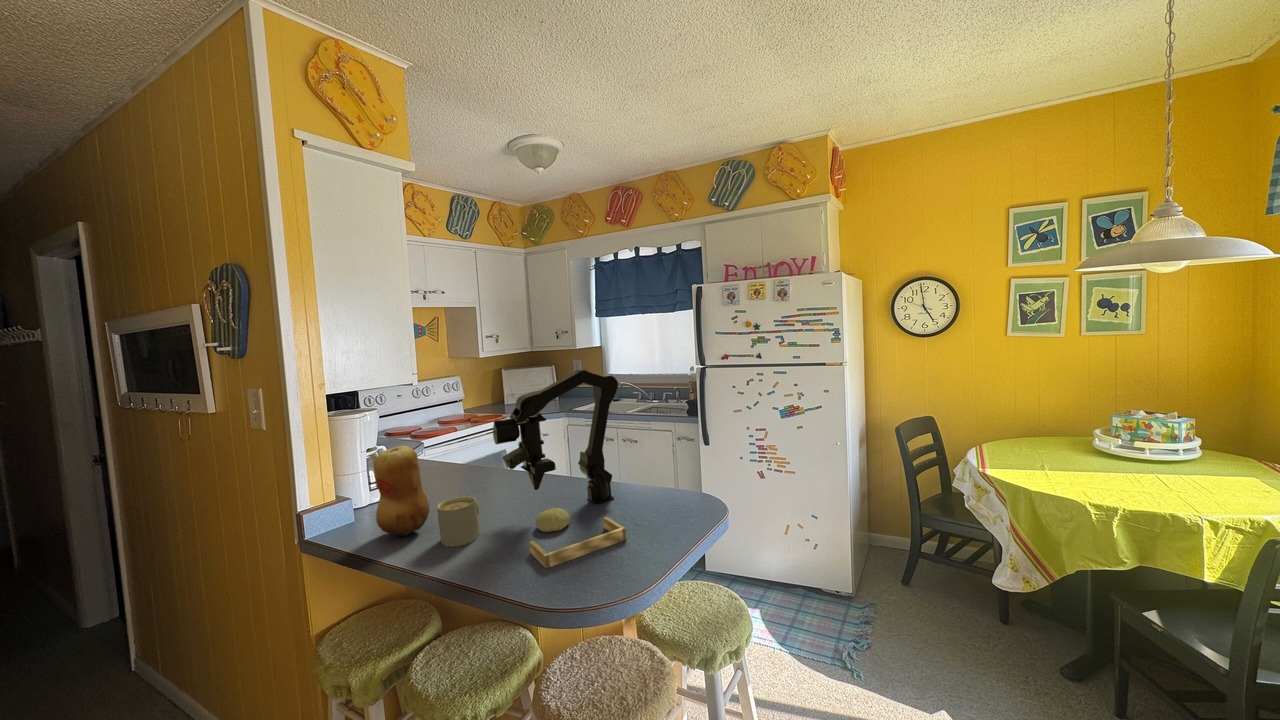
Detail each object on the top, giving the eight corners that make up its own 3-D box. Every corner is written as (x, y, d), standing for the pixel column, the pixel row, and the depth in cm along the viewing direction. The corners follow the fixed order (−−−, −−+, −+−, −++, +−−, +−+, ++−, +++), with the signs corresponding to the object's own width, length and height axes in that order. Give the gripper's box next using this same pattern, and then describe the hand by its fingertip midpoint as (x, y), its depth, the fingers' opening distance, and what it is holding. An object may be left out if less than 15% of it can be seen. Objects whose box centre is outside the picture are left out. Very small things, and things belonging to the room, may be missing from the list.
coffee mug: (459, 549, 131) (455, 512, 130) (433, 543, 136) (428, 507, 135) (496, 528, 143) (492, 493, 142) (470, 523, 148) (466, 490, 147)
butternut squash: (368, 542, 140) (356, 454, 138) (404, 522, 153) (394, 441, 150) (408, 545, 136) (397, 455, 133) (442, 524, 148) (432, 441, 146)
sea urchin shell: (529, 519, 143) (547, 495, 144) (550, 533, 145) (568, 510, 147) (536, 531, 134) (555, 505, 136) (558, 546, 137) (577, 521, 139)
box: (607, 527, 137) (606, 516, 137) (626, 539, 129) (625, 528, 129) (530, 553, 126) (529, 541, 125) (546, 568, 117) (545, 556, 117)
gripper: (494, 438, 151) (499, 488, 153) (515, 449, 136) (521, 505, 137) (529, 431, 157) (534, 479, 159) (553, 441, 142) (559, 494, 143)
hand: (536, 489), depth 149 cm, fingers closed
